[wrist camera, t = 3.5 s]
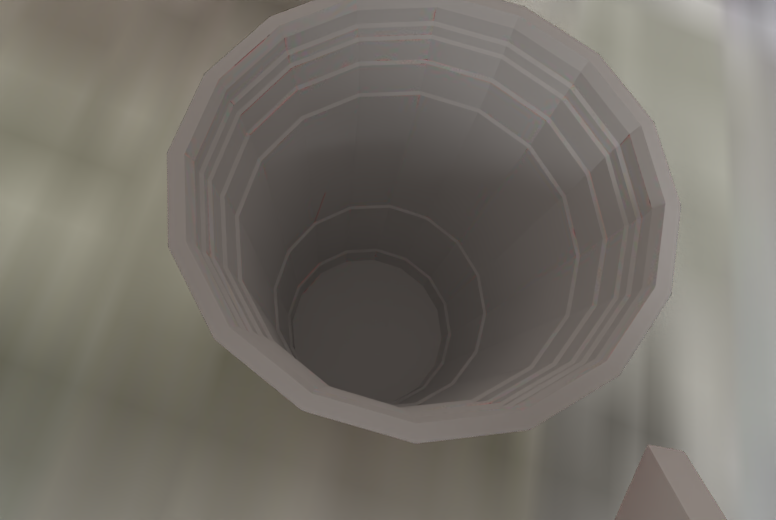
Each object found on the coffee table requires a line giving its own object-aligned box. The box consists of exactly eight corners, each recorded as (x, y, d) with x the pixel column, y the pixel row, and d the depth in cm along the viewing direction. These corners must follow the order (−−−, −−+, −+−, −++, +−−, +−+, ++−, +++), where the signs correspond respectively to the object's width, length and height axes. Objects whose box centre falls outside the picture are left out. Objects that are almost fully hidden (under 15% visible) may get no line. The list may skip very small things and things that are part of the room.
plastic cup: (303, 146, 28) (326, -111, 17) (548, 275, 27) (738, 100, 16) (143, 389, 24) (32, 261, 12) (431, 545, 23) (579, 556, 12)
